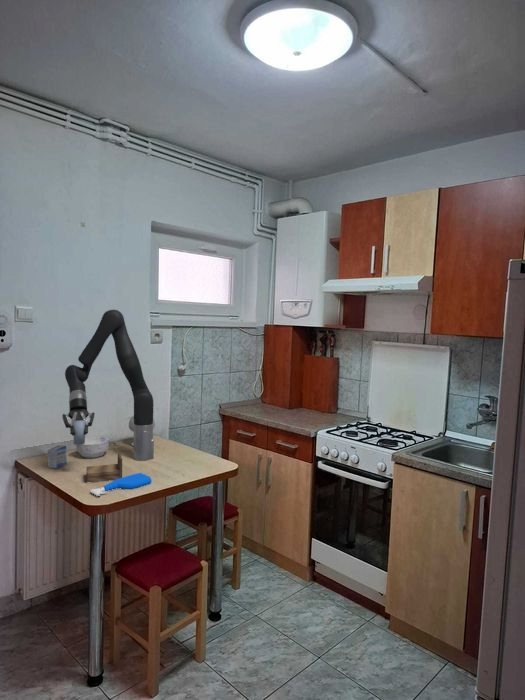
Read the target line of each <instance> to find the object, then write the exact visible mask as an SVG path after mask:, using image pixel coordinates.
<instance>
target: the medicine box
mask: <svg viewBox="0 0 525 700" xmlns="http://www.w3.org/2000/svg"><path fill="white" fill-rule="evenodd" d="M67 452H68V451H67V445H62V444H59V445H56V446H54V447H51V448H49V449H47V468H50V469H58V468H60V467H62V466H64V465H66V464H67V461H68V459H67Z"/></svg>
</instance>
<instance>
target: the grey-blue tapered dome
mask: <svg viewBox="0 0 525 700" xmlns="http://www.w3.org/2000/svg"><path fill="white" fill-rule="evenodd" d="M73 422H74V436H73V445H74V446H76V445H81V444H84V443H85V438H86V435H85V421H84V420H75V421H73Z"/></svg>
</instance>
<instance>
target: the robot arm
mask: <svg viewBox="0 0 525 700" xmlns="http://www.w3.org/2000/svg"><path fill="white" fill-rule="evenodd" d="M128 333H129V332H128V329H127V325H126V321H125V317H124V315H123V313H122V312H121V311H119V310H117V309H109V310H106V311H105V312H104V313H103V315H102V317H101V319H100V322H99V324H98V326H97V328H96V330H95V332H94V334H93V336H92V337H91V339H90V340H89V341H88V343H87V344H86V345H85V347H84V349H83V350H82V352H81V353H80V355H79V356H78V358H77V359H78V361H79V363H80V364H82V367H80V366H78V365H74V364H70V365H69V366H67V367H66V368H65V371H64V376H65V377H64V378H65V381H66V383H67V386H68V388H69V397H68V404H69V407H68V408H69V410H68V411H69V412H68V413H67V414H65V413H62V415H61V416H62V417H61V418H62V421H63V423H64V426H65V428H67V429H68V428H69V431H70V435H72V436H73V437H74V422H73V421H75V420H84V421H85V436H86V435H87V434H88V433H89V427H92V426H93V422H94V418H95V412H92V413H91V412H89V411H88V397H87V391H86V385H85V382H87V380H88V378H89V376H90V372H91V369H92V366H93V364H94V363H95V362H96V359H97V358H98V357H99V355H100V353H101V352H102V350H103V348H104V345H105V343H106V341H107V340H108V338H109V337H110V335H111V337H112V338H113V343H114V348H115V354H116V359H117V361H118V363H119V366H120V369H121V372H122V373H123V375H124V376H125V379H126V380H127V382H128V384H129V386H130V389H131V393H132V396H133V416H134V432H133V442H134V446H133V459H134V460H136V461H148V460H152V459H153V460H154V457H155V456H154V452H155V451H154V449H155V445H154V442H155V440H154V429H153V418H154V398H153V394H152V392H151V391H150V389H149V387H148V386H147V383H146V381H145V378H144V373H143V370H142V369H143V368H142V365H141V362H140V359H139V356H138V354H137V351H136V348H135V347H134V344H133V342H132V340H131V338H130V335H129V334H128ZM88 417H89V421H87V418H88ZM69 418H70V419H71V422H69V420H68V419H69Z"/></svg>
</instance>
